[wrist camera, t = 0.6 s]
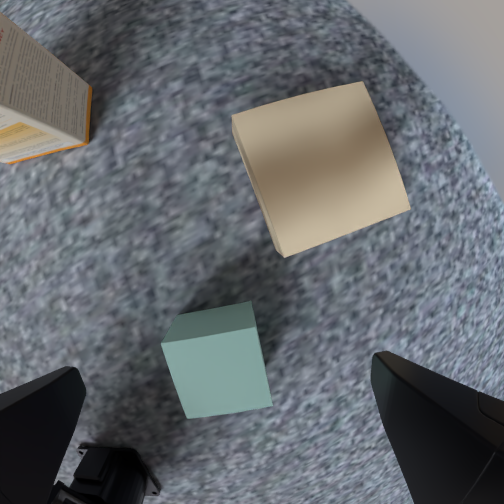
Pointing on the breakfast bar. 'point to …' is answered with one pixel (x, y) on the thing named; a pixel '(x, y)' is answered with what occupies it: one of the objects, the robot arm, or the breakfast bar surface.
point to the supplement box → (38, 99)
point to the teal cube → (217, 361)
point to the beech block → (319, 166)
